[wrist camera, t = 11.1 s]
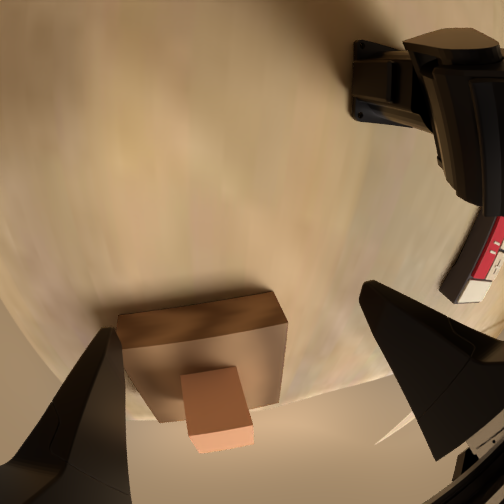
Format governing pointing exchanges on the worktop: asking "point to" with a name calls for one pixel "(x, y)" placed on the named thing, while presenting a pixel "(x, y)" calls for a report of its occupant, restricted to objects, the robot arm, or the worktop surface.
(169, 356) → the walnut base
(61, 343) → the worktop surface
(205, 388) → the terracotta block
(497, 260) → the red white black box
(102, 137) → the worktop surface
